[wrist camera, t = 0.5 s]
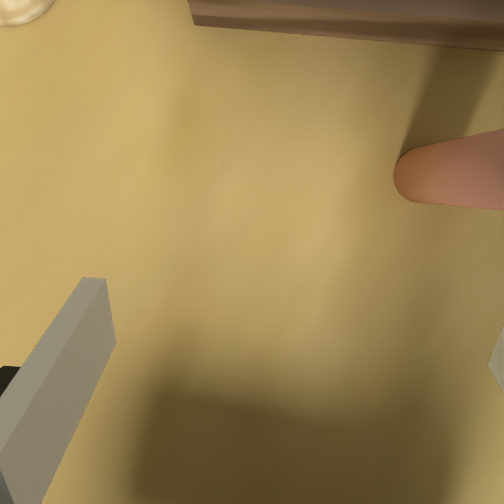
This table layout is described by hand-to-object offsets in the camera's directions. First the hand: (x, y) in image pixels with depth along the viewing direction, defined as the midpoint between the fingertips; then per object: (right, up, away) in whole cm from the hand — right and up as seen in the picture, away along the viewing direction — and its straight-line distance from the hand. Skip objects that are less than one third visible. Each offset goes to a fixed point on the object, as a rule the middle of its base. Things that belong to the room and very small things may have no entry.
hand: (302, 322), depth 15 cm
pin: (+11, +8, +18) cm, 23 cm away
